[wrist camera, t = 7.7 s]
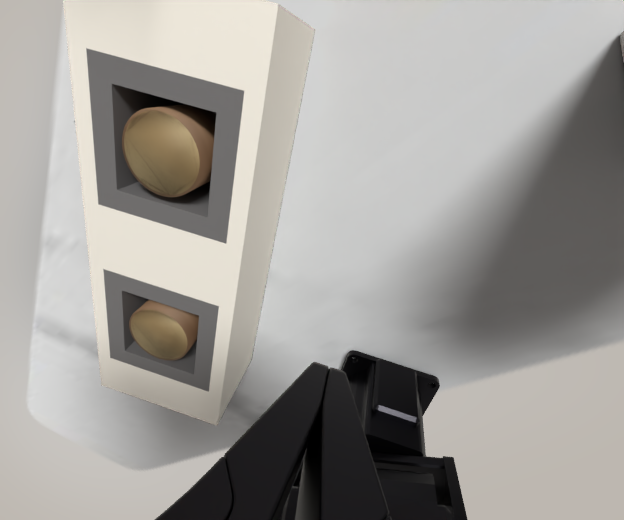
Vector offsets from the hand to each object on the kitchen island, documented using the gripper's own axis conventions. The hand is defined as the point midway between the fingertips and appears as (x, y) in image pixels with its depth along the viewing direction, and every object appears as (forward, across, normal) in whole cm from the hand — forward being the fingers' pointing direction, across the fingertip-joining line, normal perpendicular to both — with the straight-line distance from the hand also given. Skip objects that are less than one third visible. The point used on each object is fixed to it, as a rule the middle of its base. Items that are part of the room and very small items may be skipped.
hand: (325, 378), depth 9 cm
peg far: (+13, +9, +8) cm, 18 cm away
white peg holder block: (+13, +9, +3) cm, 16 cm away
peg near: (+13, +9, -2) cm, 16 cm away
